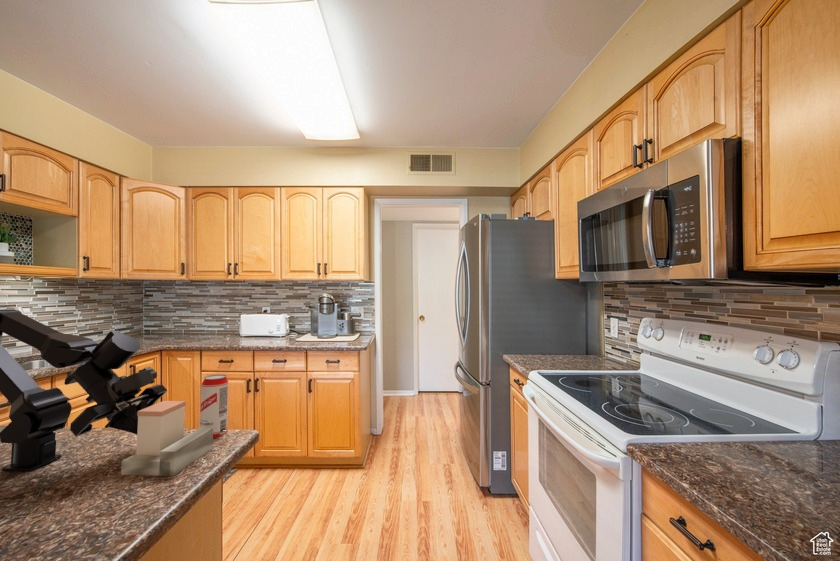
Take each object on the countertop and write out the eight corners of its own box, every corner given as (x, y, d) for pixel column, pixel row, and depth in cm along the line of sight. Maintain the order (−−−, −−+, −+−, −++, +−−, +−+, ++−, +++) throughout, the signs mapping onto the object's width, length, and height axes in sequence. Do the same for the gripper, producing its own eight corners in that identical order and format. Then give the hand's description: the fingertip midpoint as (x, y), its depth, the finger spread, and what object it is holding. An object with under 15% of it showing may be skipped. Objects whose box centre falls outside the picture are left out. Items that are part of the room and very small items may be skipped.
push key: (134, 468, 71) (137, 411, 72) (161, 452, 79) (163, 400, 79) (159, 468, 71) (161, 411, 72) (183, 452, 79) (185, 401, 79)
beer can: (214, 444, 86) (216, 380, 87) (193, 441, 87) (195, 378, 88) (232, 434, 92) (234, 374, 93) (212, 432, 94) (214, 373, 94)
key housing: (85, 488, 66) (86, 456, 66) (158, 447, 84) (159, 422, 84) (166, 490, 66) (167, 458, 66) (222, 448, 84) (223, 423, 84)
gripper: (87, 366, 67) (140, 424, 66) (161, 351, 86) (203, 396, 85) (45, 407, 67) (98, 465, 66) (128, 383, 85) (170, 428, 85)
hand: (149, 434), depth 75 cm, fingers closed, pressing on push key
